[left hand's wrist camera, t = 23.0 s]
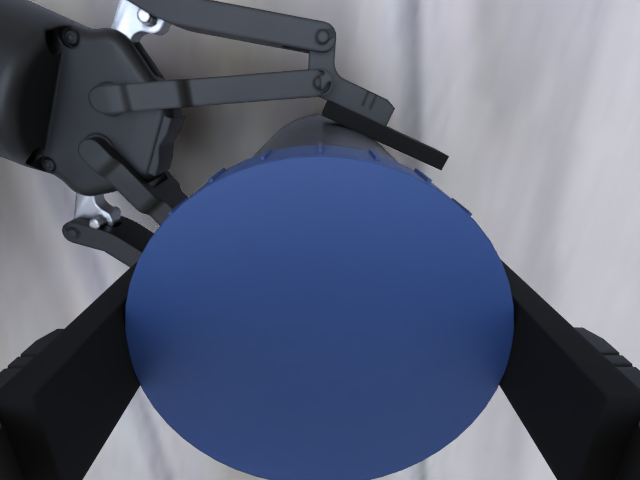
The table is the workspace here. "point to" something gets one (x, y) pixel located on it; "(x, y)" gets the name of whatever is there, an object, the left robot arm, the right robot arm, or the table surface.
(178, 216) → the lid
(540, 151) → the table surface
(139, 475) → the table surface
